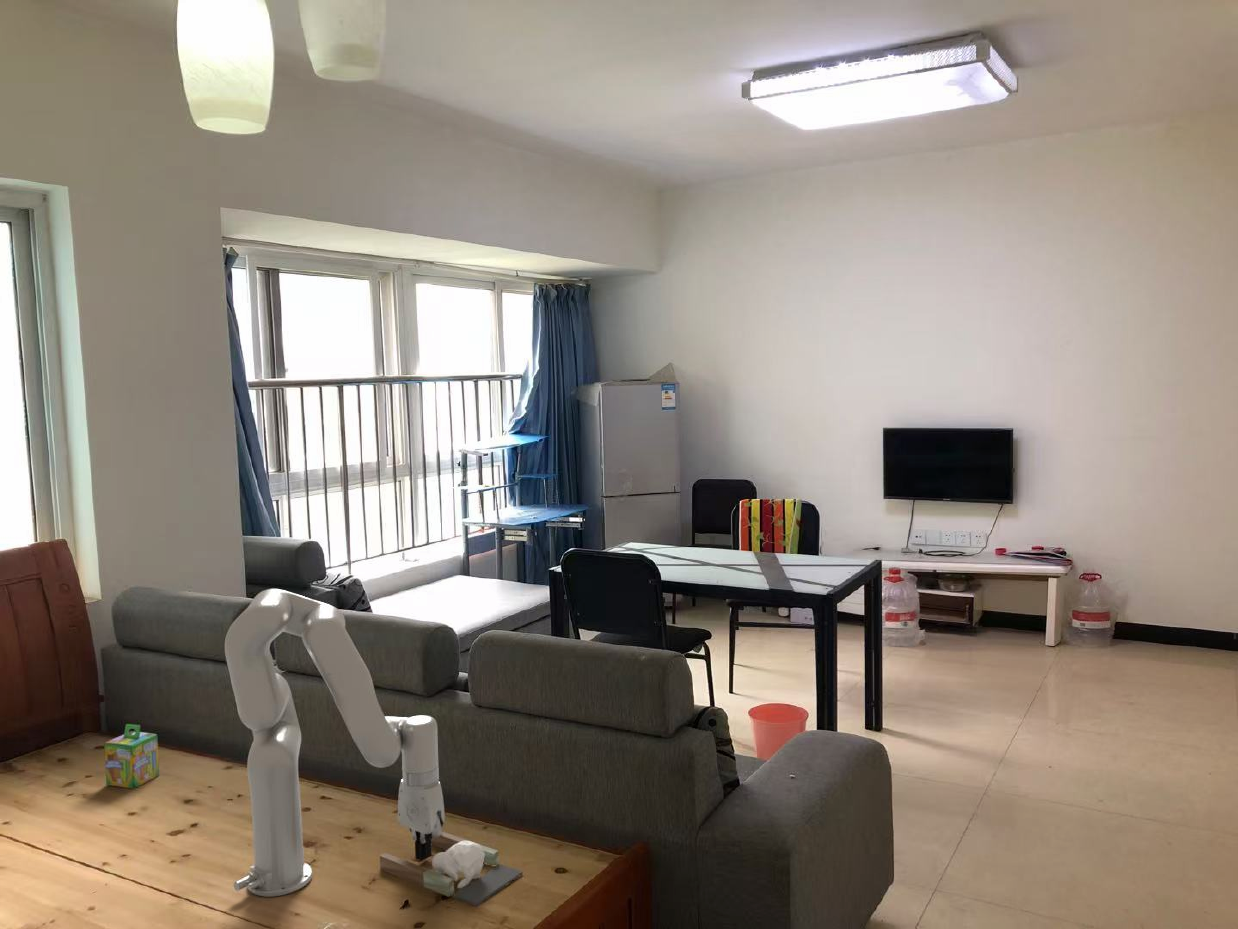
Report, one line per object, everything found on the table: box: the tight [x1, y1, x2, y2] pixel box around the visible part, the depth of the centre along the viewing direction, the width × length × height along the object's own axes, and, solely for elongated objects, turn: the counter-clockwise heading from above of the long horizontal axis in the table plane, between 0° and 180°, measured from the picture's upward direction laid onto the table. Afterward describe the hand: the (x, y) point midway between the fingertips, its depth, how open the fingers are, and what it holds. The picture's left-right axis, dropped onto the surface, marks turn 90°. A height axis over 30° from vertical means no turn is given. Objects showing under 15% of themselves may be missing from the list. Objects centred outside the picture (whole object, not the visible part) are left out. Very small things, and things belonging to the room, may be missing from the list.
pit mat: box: [453, 863, 523, 907], centre depth 194 cm, size 14×6×1 cm, turn 146°
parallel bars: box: [379, 830, 500, 897], centre depth 202 cm, size 15×20×3 cm
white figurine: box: [431, 840, 485, 890], centre depth 197 cm, size 6×8×12 cm
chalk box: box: [104, 723, 160, 790], centre depth 249 cm, size 9×9×15 cm
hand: (423, 857), depth 204 cm, fingers closed
